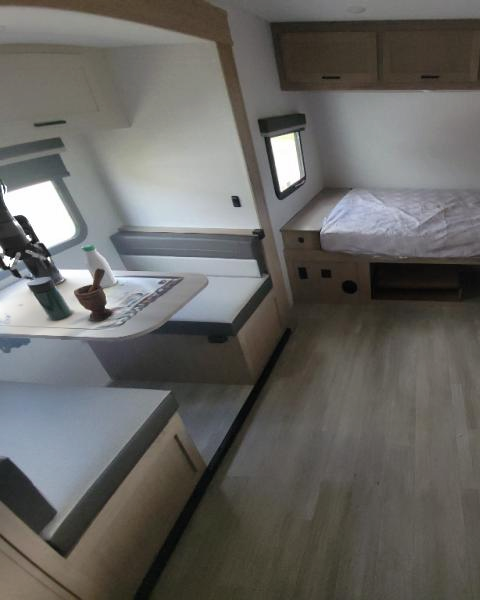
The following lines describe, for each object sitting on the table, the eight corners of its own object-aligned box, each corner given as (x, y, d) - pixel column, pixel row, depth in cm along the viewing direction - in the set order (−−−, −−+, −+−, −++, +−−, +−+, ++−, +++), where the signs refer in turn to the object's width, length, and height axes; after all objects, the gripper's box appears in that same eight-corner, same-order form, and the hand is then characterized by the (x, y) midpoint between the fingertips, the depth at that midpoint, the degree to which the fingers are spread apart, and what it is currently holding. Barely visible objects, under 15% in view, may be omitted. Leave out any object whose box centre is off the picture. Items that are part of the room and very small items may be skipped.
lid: (27, 291, 130) (21, 284, 128) (46, 283, 135) (42, 275, 134) (40, 294, 128) (35, 286, 126) (59, 285, 134) (55, 278, 132)
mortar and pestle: (111, 305, 146) (89, 264, 135) (126, 308, 144) (106, 267, 134) (84, 319, 137) (58, 277, 126) (100, 323, 135) (76, 280, 124)
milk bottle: (121, 281, 165) (102, 243, 154) (108, 288, 158) (88, 250, 147) (106, 279, 165) (87, 242, 155) (93, 287, 159) (72, 249, 148)
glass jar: (45, 318, 137) (22, 285, 128) (63, 309, 142) (43, 277, 134) (58, 321, 135) (36, 287, 127) (76, 312, 141) (56, 279, 133)
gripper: (28, 225, 126) (51, 263, 135) (-25, 238, 115) (4, 278, 124) (38, 228, 124) (61, 267, 132) (-14, 241, 113) (15, 283, 121)
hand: (33, 272), depth 128 cm, fingers open, 8 cm apart
